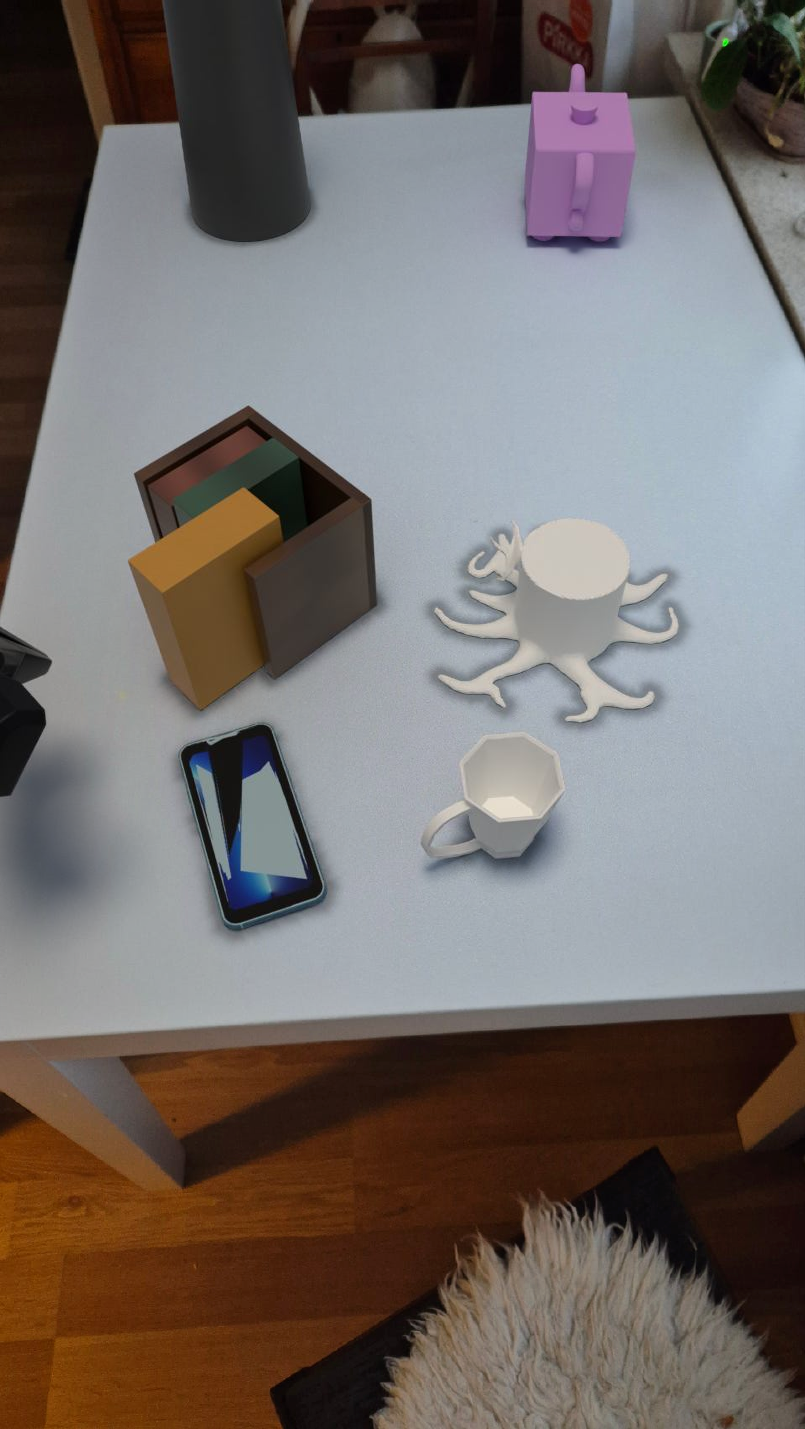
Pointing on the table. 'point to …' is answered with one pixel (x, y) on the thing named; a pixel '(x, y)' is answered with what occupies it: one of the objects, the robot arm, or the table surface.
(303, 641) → the bookshelf
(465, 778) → the cup
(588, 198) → the teapot
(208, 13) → the vase
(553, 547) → the tree stump
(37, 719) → the robot arm
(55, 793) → the table surface
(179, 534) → the ochre book
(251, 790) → the smartphone
